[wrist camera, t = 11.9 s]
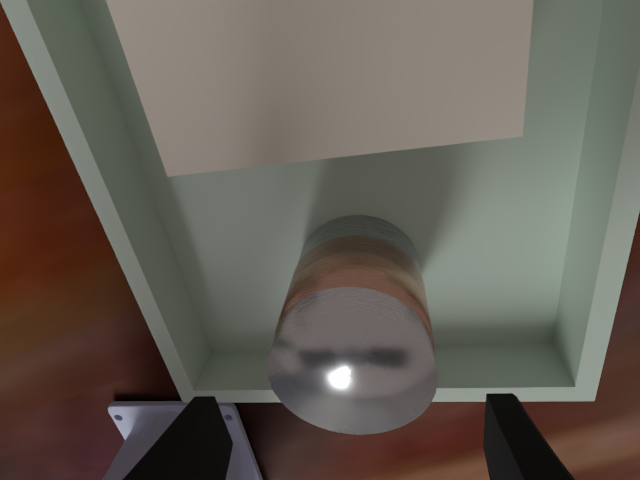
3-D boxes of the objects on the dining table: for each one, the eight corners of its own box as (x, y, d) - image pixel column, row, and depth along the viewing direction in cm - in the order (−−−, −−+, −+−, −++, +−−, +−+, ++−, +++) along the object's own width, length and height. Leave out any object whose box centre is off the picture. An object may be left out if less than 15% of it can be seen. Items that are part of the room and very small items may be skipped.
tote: (564, 346, 19) (594, 401, 16) (205, 356, 22) (182, 402, 19) (672, -285, 9) (783, -397, 7) (25, -111, 13) (-66, -141, 10)
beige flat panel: (490, 108, 14) (522, 136, 10) (208, 143, 15) (167, 176, 12) (499, -126, 11) (548, -179, 8) (153, -49, 13) (82, -67, 9)
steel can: (422, 313, 18) (441, 436, 13) (309, 317, 19) (283, 434, 14) (417, 207, 16) (437, 307, 10) (288, 219, 16) (247, 315, 11)
